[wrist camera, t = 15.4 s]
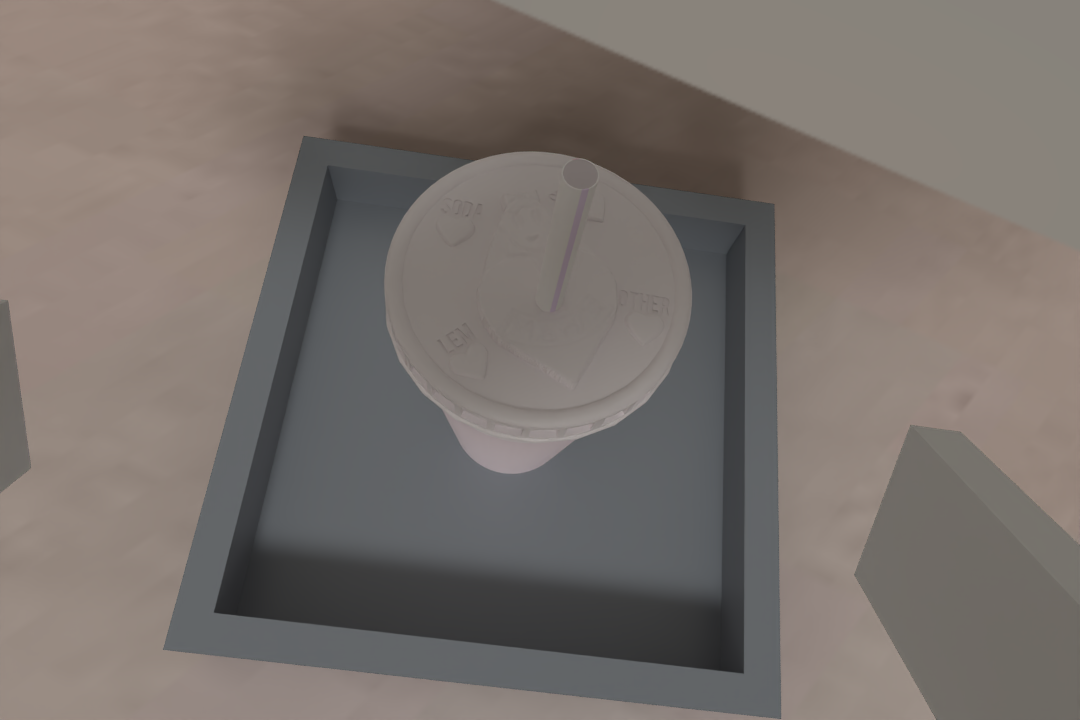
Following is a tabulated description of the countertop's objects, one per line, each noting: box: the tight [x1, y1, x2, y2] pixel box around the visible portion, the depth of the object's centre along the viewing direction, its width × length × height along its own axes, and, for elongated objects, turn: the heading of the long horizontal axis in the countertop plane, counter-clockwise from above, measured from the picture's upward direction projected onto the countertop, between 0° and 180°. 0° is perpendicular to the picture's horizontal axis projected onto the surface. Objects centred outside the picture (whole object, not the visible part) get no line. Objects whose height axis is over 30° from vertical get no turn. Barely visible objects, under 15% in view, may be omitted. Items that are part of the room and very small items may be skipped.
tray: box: [163, 136, 781, 719], centre depth 24 cm, size 16×16×3 cm
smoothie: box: [384, 151, 692, 474], centre depth 18 cm, size 6×6×14 cm
